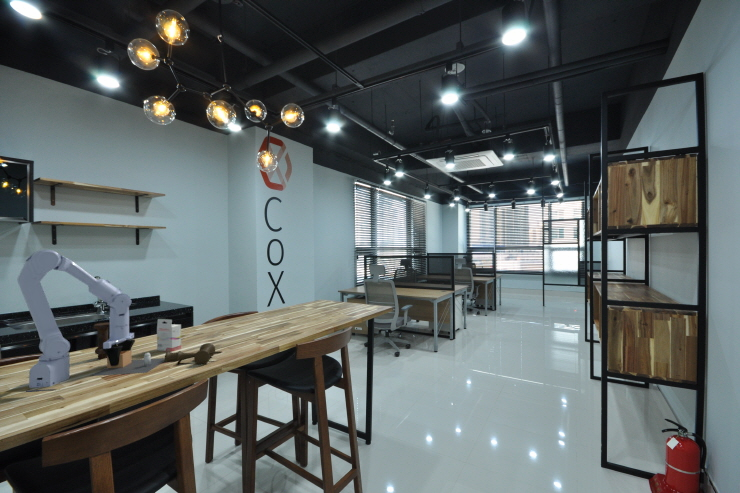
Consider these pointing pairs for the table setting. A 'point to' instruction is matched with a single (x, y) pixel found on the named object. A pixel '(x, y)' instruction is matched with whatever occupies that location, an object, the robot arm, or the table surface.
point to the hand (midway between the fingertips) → (119, 362)
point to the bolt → (101, 338)
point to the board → (133, 366)
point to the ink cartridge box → (168, 335)
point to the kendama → (194, 354)
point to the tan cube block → (121, 359)
